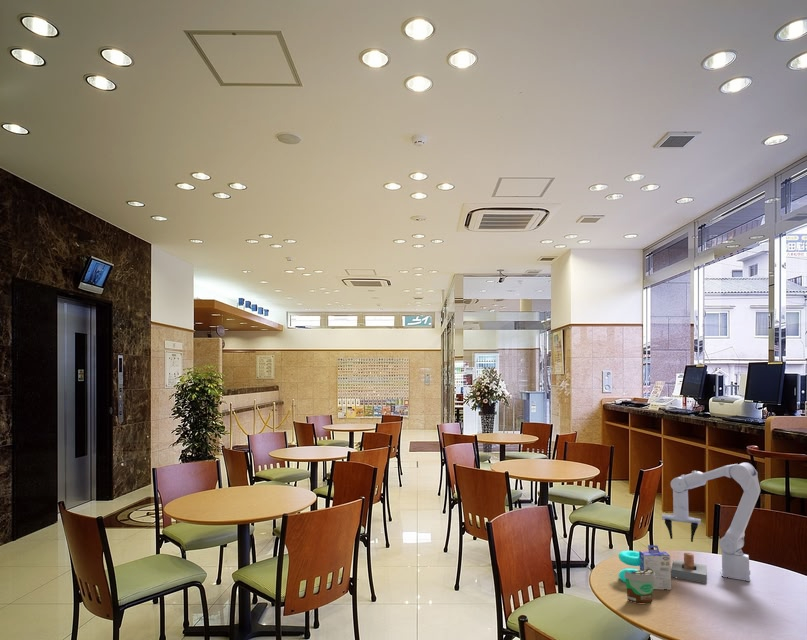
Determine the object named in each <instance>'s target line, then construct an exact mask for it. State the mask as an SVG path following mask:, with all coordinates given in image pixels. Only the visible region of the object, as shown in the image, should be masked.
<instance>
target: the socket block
mask: <svg viewBox="0 0 807 640" xmlns="http://www.w3.org/2000/svg"><path fill="white" fill-rule="evenodd" d="M707 568H708V567H707V565H706V564H700V563H695V562H694V570H690V569H684V561H680V560H675V559H673V560H672V563H671V568H670V569H671V578H673V577H677V578H676V579H679V578H682V579H681V580H685V579H686V581H691V582H696V581H697V582H696V583H702V582H704V583H703V584H707V583H708V582H707V581H708V570H707Z"/></svg>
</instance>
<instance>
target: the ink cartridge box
mask: <svg viewBox="0 0 807 640" xmlns="http://www.w3.org/2000/svg"><path fill="white" fill-rule="evenodd" d="M647 548H648V550H645V551H644V550H643V551H642V550H639V551H638V552H639V557H640V559H641V565H640V566H639V570H646V569H647V567H650V568H652V569H653V570H654V572H655V576H656V579H655V580H654V583H653V590H664V589H667V590H668V591H669V590H670V591H672V573H671V569H672V568H671V555H670V554H668V553H667V552H666V551H662V550H661V551H660V550H659V546H658V545H657V544H656V545H654V544H652V545H651V544H648V545H647ZM651 548H654V549H651Z"/></svg>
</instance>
